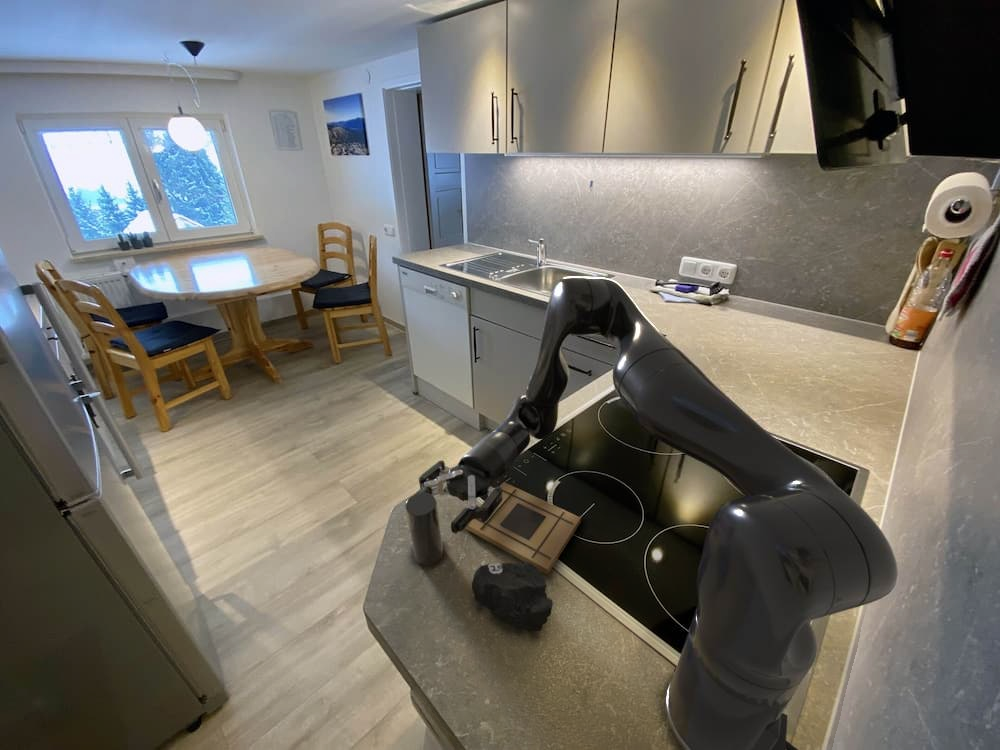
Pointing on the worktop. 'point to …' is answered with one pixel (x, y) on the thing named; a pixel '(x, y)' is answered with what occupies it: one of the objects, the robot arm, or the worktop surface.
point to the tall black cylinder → (424, 528)
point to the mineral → (513, 594)
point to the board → (527, 528)
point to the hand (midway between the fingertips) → (431, 517)
